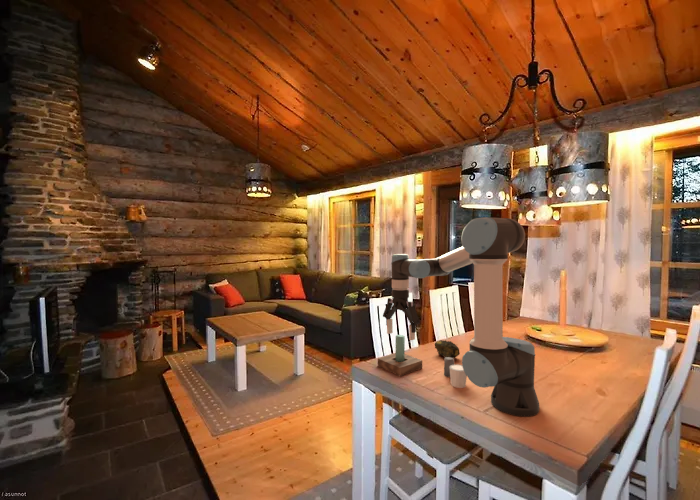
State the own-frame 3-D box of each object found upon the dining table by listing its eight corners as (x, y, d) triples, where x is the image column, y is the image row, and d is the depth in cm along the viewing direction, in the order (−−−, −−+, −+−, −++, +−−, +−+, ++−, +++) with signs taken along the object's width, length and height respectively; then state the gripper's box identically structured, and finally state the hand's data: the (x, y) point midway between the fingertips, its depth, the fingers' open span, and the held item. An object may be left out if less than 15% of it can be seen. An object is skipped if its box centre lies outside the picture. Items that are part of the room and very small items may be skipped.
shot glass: (459, 390, 132) (459, 372, 132) (445, 383, 138) (445, 366, 138) (471, 385, 136) (471, 368, 136) (457, 379, 142) (457, 362, 141)
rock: (463, 340, 167) (454, 340, 162) (464, 360, 165) (455, 360, 160) (442, 340, 176) (432, 339, 171) (442, 358, 174) (433, 359, 169)
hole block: (422, 368, 154) (422, 360, 154) (400, 376, 145) (400, 367, 145) (399, 359, 165) (399, 352, 165) (377, 366, 156) (377, 358, 156)
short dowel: (455, 375, 146) (456, 359, 146) (450, 377, 144) (450, 361, 143) (448, 372, 149) (448, 356, 149) (442, 374, 147) (442, 358, 146)
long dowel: (406, 367, 155) (406, 336, 154) (400, 369, 152) (400, 338, 152) (399, 364, 158) (400, 334, 157) (393, 366, 156) (393, 336, 155)
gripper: (428, 291, 146) (428, 341, 147) (386, 285, 166) (387, 329, 166) (416, 292, 142) (416, 344, 142) (375, 286, 161) (375, 332, 162)
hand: (400, 336), depth 154 cm, fingers open, 13 cm apart
